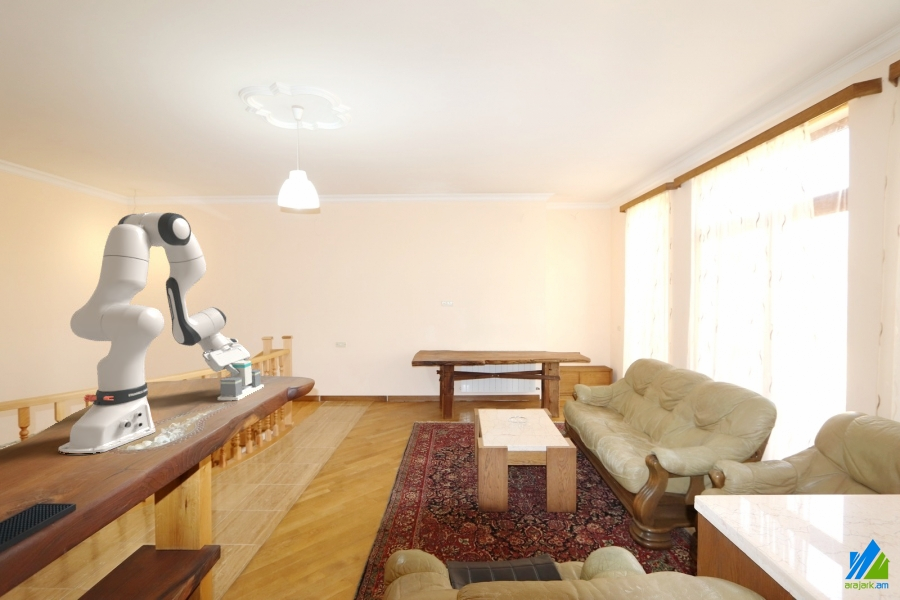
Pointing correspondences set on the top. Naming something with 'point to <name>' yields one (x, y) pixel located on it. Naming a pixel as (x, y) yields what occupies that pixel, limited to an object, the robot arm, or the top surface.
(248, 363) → the block
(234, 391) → the rail mount
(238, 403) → the top surface
